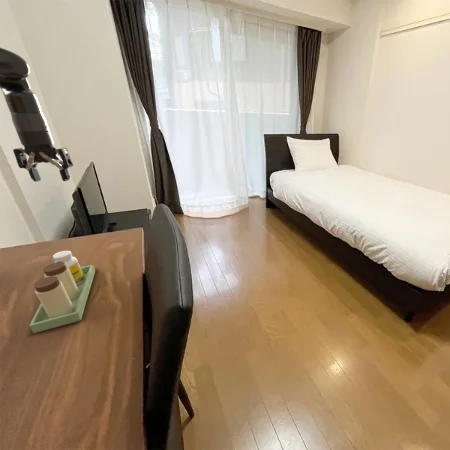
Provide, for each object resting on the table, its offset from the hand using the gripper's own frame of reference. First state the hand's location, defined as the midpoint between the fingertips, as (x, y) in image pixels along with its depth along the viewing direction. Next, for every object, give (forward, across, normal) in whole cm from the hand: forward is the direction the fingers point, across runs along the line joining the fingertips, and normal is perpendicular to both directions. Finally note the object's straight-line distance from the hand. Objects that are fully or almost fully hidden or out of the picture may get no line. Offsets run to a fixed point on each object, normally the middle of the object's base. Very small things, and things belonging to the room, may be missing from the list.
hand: (52, 180), depth 89 cm
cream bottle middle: (+25, +14, -29) cm, 41 cm away
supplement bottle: (+25, +12, -22) cm, 36 cm away
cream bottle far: (+25, +16, -36) cm, 47 cm away
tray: (+26, +14, -29) cm, 41 cm away
